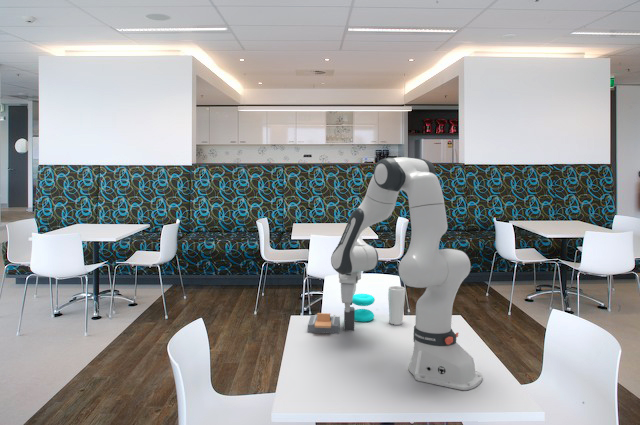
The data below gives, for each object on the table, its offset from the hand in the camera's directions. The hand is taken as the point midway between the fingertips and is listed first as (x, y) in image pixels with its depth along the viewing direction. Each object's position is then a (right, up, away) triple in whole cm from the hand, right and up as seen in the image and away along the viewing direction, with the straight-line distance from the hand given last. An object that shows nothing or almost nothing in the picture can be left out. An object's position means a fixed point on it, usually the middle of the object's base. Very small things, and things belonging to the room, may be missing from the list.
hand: (348, 308), depth 199 cm
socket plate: (-10, -8, +1) cm, 13 cm away
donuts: (+7, -7, +14) cm, 17 cm away
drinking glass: (+20, -8, +8) cm, 23 cm away
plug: (0, -8, 0) cm, 8 cm away
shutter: (-10, -6, -5) cm, 13 cm away
